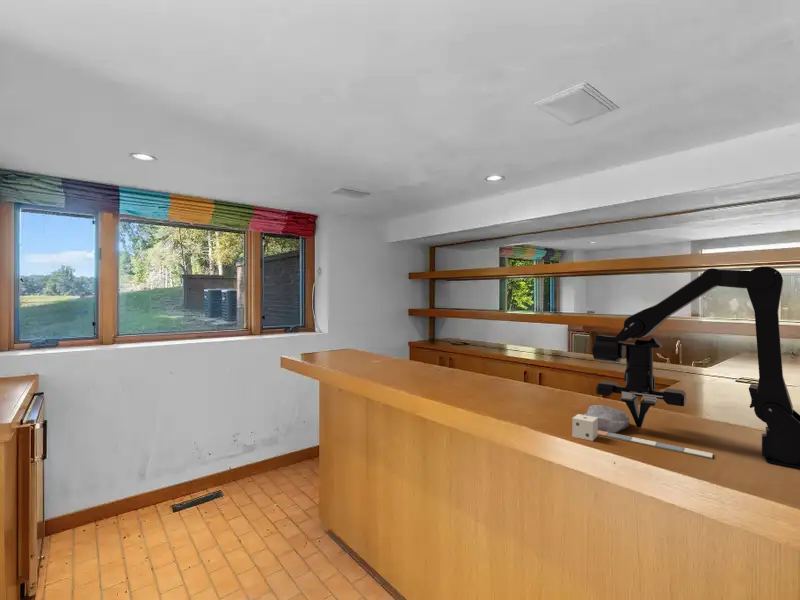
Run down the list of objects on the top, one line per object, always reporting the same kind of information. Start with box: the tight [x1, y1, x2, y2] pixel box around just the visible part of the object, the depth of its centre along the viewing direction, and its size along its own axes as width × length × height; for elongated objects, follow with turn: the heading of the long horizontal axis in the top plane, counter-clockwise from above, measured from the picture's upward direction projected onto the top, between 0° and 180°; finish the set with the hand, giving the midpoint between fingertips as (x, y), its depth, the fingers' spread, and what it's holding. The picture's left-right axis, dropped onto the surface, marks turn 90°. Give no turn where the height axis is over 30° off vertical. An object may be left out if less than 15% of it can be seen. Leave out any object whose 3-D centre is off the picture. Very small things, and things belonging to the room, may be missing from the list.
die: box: [571, 413, 599, 442], centre depth 95 cm, size 4×4×4 cm
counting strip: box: [598, 430, 714, 460], centre depth 91 cm, size 25×3×1 cm, turn 50°
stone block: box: [583, 404, 631, 434], centre depth 104 cm, size 12×5×10 cm
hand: (639, 427), depth 99 cm, fingers closed
